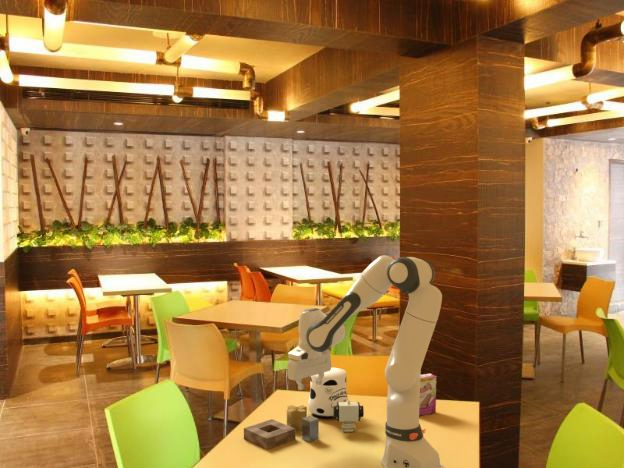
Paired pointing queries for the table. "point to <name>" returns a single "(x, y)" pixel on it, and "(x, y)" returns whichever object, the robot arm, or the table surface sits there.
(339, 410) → the pneumatic valve
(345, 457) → the table surface
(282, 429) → the block
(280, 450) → the table surface
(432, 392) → the candy bar box
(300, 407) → the cross bit
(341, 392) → the milk container
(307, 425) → the square bit
